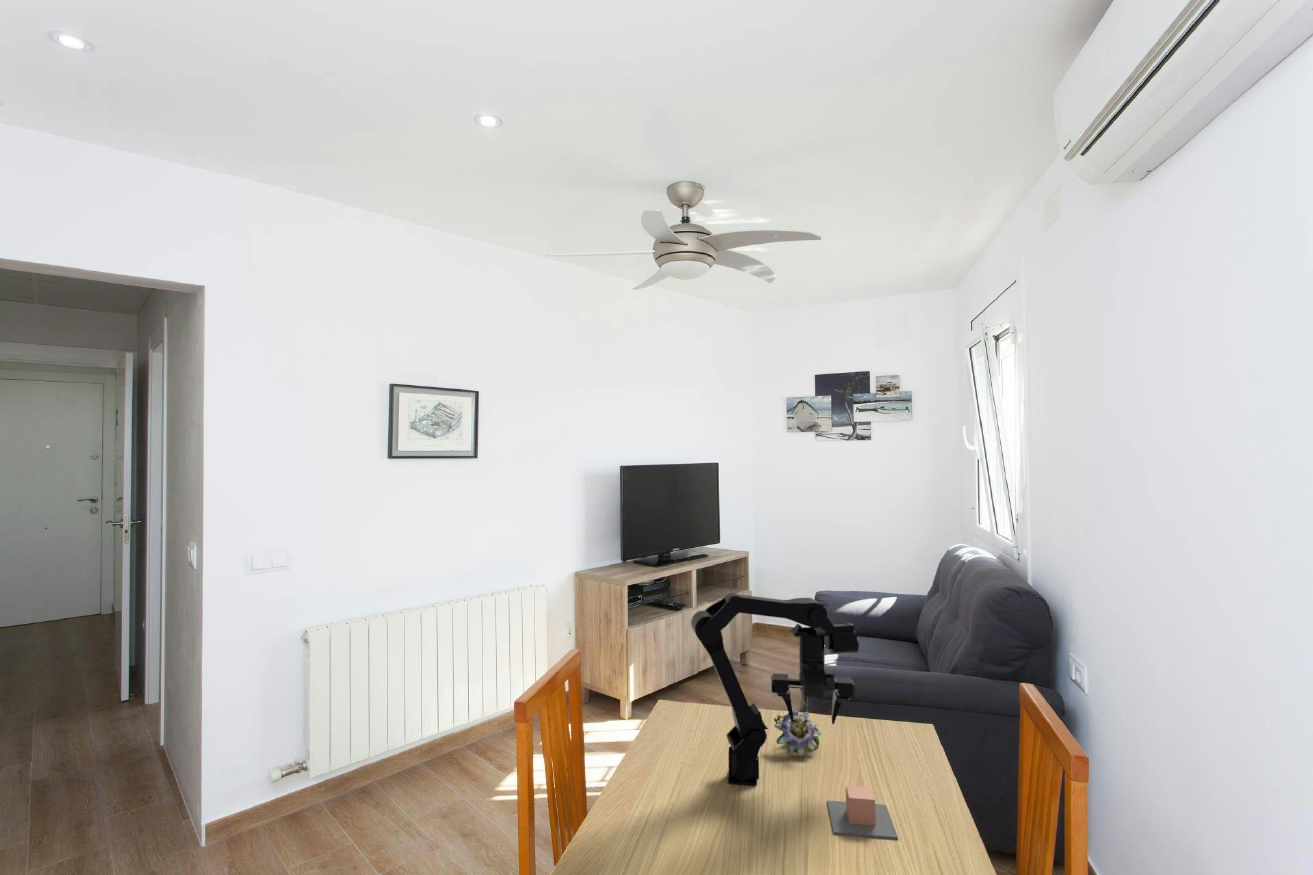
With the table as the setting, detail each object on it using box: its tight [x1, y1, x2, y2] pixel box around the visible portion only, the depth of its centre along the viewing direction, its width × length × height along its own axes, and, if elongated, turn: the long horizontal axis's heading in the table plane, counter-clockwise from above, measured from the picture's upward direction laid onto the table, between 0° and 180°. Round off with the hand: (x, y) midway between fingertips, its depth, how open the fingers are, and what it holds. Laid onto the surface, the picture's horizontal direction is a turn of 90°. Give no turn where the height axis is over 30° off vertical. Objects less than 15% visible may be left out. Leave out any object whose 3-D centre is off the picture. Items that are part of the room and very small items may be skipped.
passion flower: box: [773, 706, 822, 757], centre depth 166 cm, size 11×11×12 cm
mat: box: [826, 799, 899, 840], centre depth 133 cm, size 12×12×1 cm
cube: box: [845, 785, 876, 826], centre depth 133 cm, size 5×5×5 cm
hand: (812, 722), depth 152 cm, fingers open, 9 cm apart
